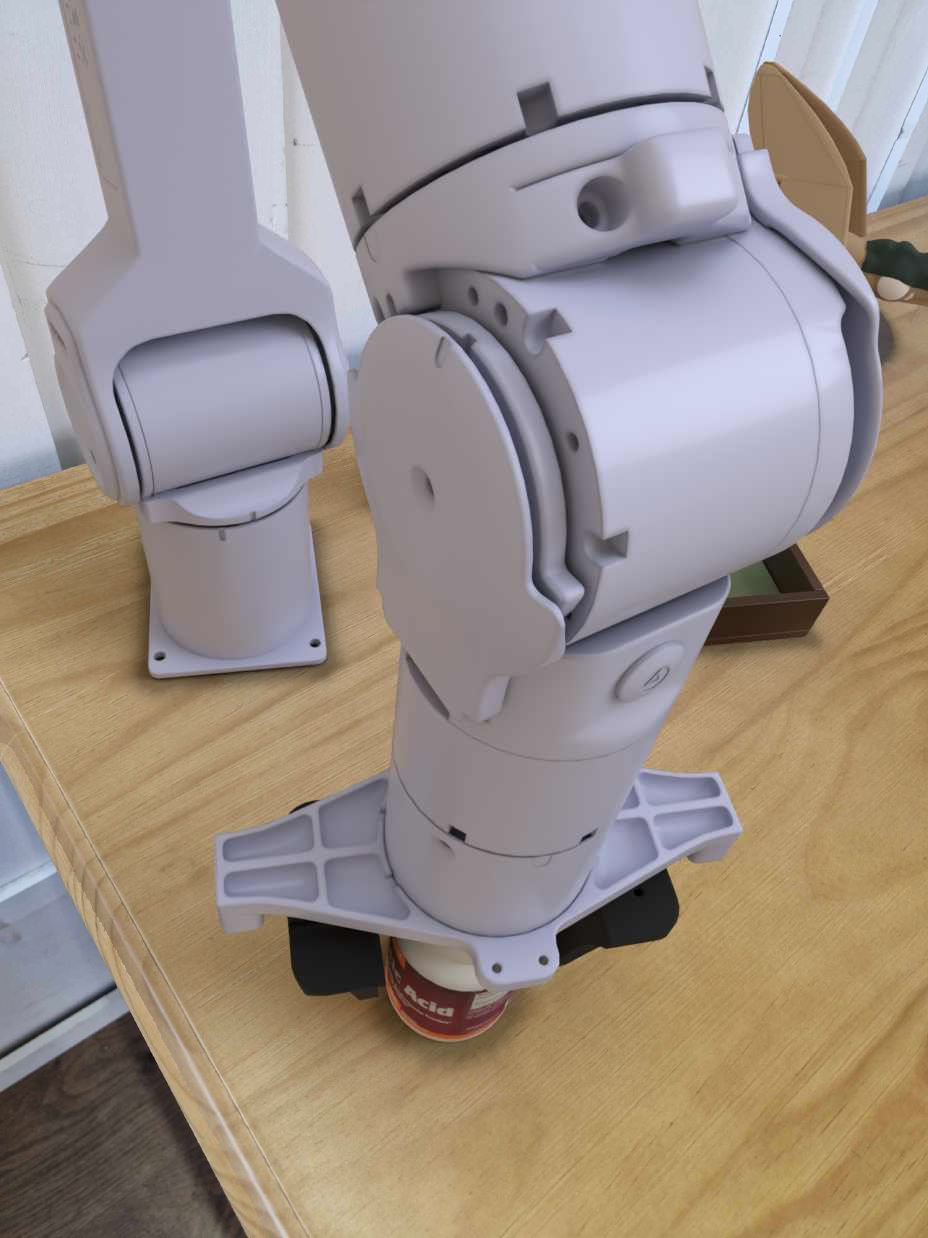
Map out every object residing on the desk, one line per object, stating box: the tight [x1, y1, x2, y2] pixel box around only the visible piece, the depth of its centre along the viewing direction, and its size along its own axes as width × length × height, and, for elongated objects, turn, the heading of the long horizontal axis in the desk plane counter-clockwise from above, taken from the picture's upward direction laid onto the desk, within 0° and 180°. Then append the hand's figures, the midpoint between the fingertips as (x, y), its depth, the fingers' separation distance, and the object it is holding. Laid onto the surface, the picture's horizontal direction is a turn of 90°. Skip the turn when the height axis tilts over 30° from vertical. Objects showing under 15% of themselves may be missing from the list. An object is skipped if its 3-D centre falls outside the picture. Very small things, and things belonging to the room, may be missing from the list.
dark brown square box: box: [702, 542, 831, 647], centre depth 47 cm, size 8×8×3 cm
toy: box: [747, 60, 928, 365], centre depth 62 cm, size 18×20×15 cm
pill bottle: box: [385, 936, 515, 1043], centre depth 30 cm, size 5×5×8 cm
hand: (455, 954), depth 31 cm, fingers open, 6 cm apart
